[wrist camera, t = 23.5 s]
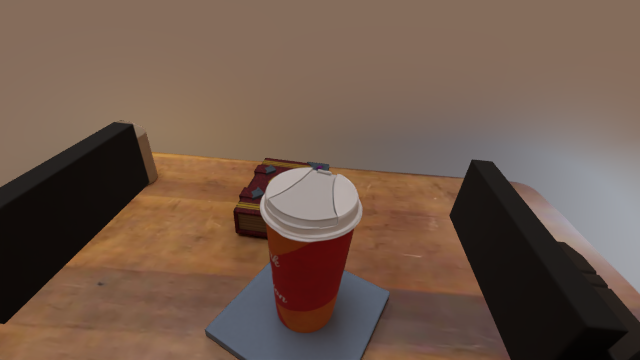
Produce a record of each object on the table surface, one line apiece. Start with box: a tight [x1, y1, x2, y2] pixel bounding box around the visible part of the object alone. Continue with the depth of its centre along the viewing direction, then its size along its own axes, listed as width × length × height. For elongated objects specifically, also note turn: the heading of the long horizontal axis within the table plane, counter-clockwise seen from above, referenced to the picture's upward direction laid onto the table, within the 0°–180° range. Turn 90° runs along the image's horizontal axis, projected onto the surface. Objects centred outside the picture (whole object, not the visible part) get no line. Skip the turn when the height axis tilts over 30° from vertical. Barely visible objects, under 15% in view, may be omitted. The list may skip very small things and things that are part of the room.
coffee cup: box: [260, 167, 362, 333], centre depth 28 cm, size 8×8×15 cm
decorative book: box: [233, 158, 329, 237], centre depth 46 cm, size 11×16×5 cm
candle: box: [118, 120, 157, 184], centre depth 48 cm, size 6×6×10 cm
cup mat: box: [205, 262, 390, 360], centre depth 32 cm, size 14×14×1 cm
